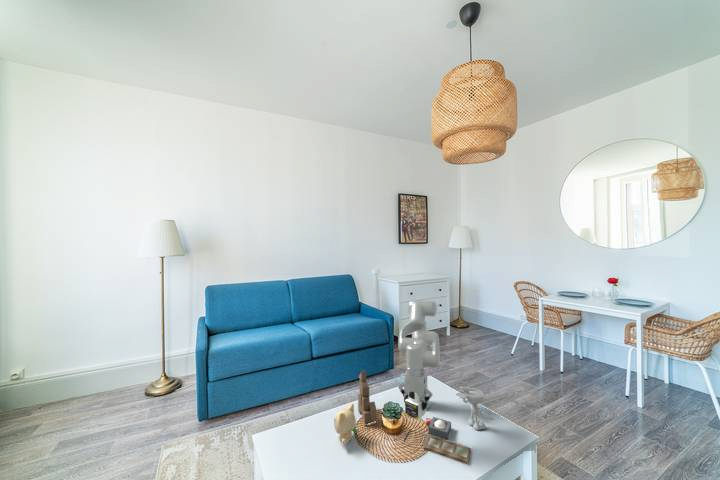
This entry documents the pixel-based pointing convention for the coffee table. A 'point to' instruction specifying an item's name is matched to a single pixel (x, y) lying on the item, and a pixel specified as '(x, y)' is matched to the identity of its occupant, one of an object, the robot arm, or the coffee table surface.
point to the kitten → (345, 424)
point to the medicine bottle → (414, 406)
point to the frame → (426, 440)
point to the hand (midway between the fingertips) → (415, 406)
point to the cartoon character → (475, 406)
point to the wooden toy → (365, 401)
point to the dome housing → (438, 431)
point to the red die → (428, 421)
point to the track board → (448, 449)
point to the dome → (440, 424)
